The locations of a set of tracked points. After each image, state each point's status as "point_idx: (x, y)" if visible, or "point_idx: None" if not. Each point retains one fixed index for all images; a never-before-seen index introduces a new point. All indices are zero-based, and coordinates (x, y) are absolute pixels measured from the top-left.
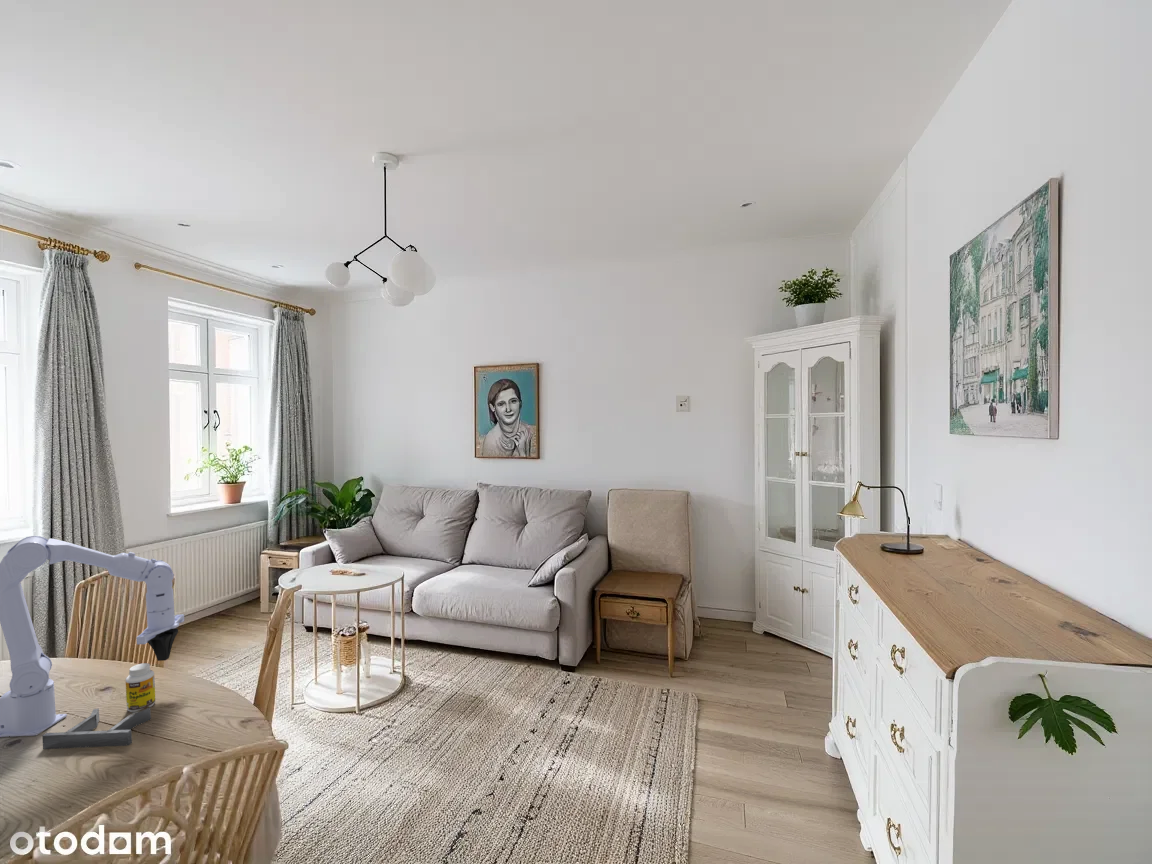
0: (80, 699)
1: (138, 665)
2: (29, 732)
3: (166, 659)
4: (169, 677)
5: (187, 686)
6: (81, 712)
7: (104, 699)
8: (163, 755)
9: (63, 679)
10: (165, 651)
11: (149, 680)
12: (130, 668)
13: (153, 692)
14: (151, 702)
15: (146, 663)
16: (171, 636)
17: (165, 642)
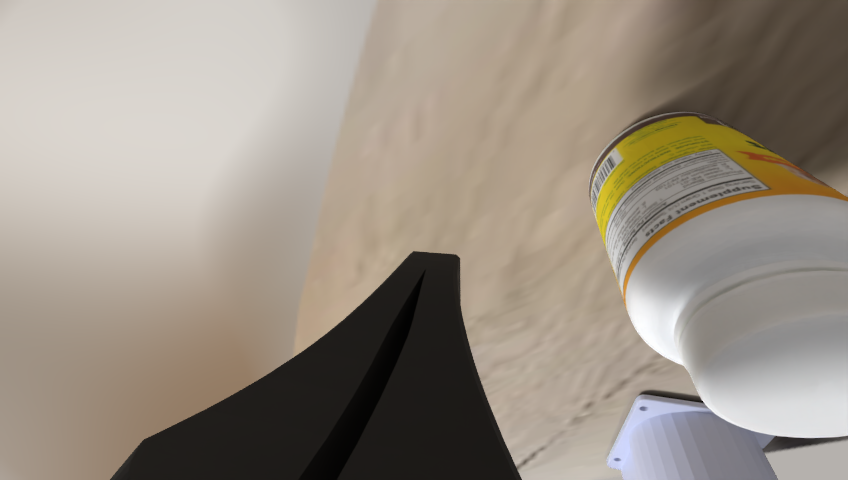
0: (509, 401)
1: (757, 402)
2: (759, 436)
3: (446, 254)
4: (348, 223)
5: (433, 56)
6: (618, 368)
7: (523, 347)
8: None
9: None
10: (460, 315)
11: (826, 188)
12: (828, 435)
13: (700, 136)
14: (701, 117)
15: (730, 358)
16: (319, 465)
17: (496, 444)
